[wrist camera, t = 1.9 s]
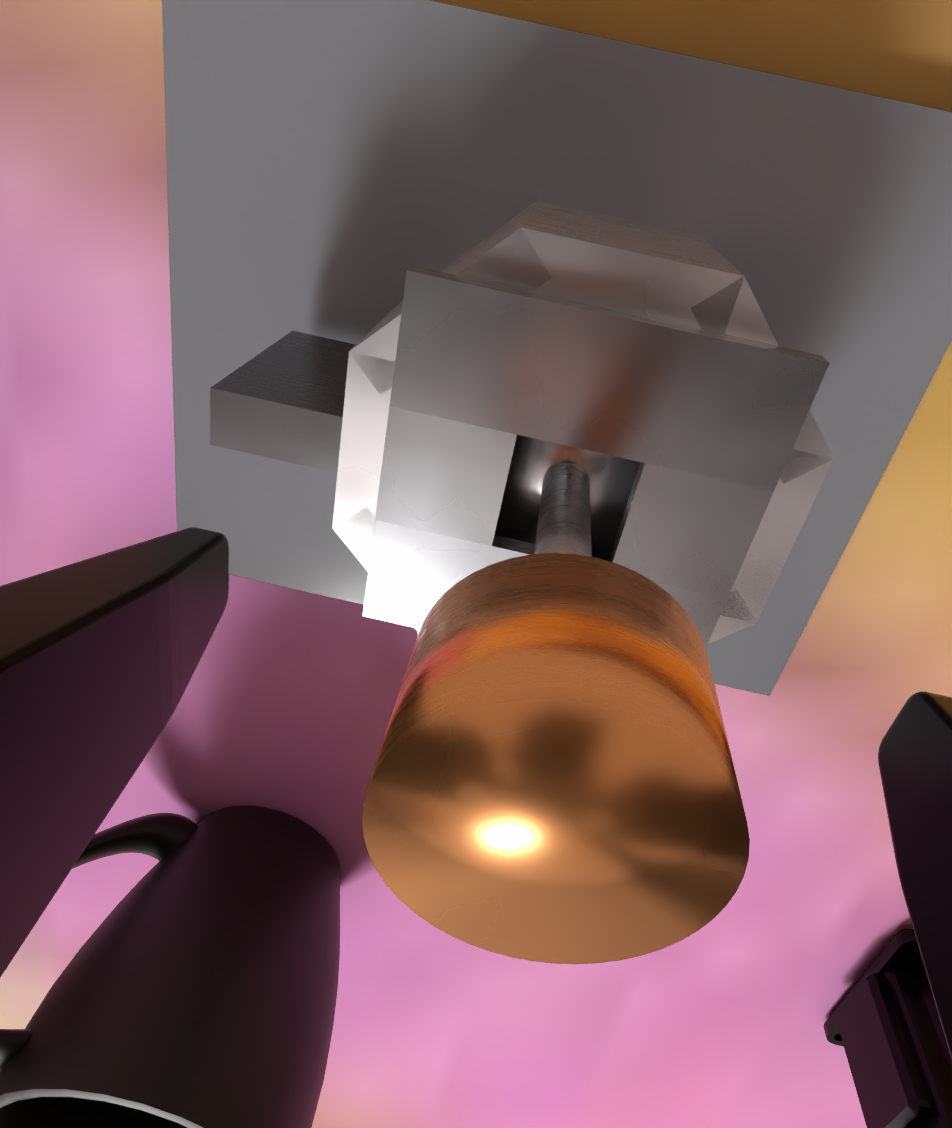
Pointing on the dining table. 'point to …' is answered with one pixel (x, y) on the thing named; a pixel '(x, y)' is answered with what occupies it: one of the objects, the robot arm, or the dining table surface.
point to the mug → (191, 985)
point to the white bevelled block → (553, 412)
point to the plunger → (559, 742)
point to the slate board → (499, 193)
